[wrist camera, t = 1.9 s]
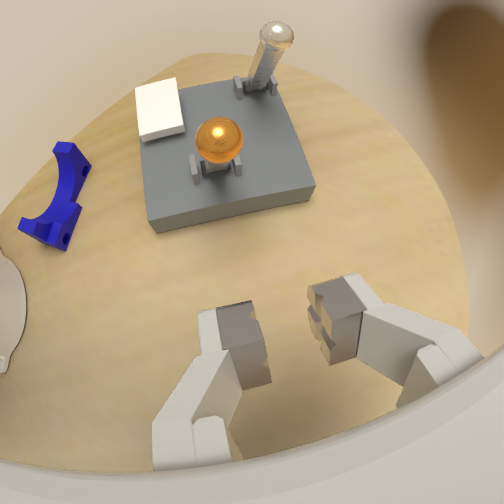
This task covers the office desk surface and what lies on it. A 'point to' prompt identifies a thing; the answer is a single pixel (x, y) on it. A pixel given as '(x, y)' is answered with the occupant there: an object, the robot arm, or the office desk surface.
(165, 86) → the white rectangular block
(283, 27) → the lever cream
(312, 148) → the office desk surface
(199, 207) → the panel
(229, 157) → the lever orange
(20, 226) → the cable clip
